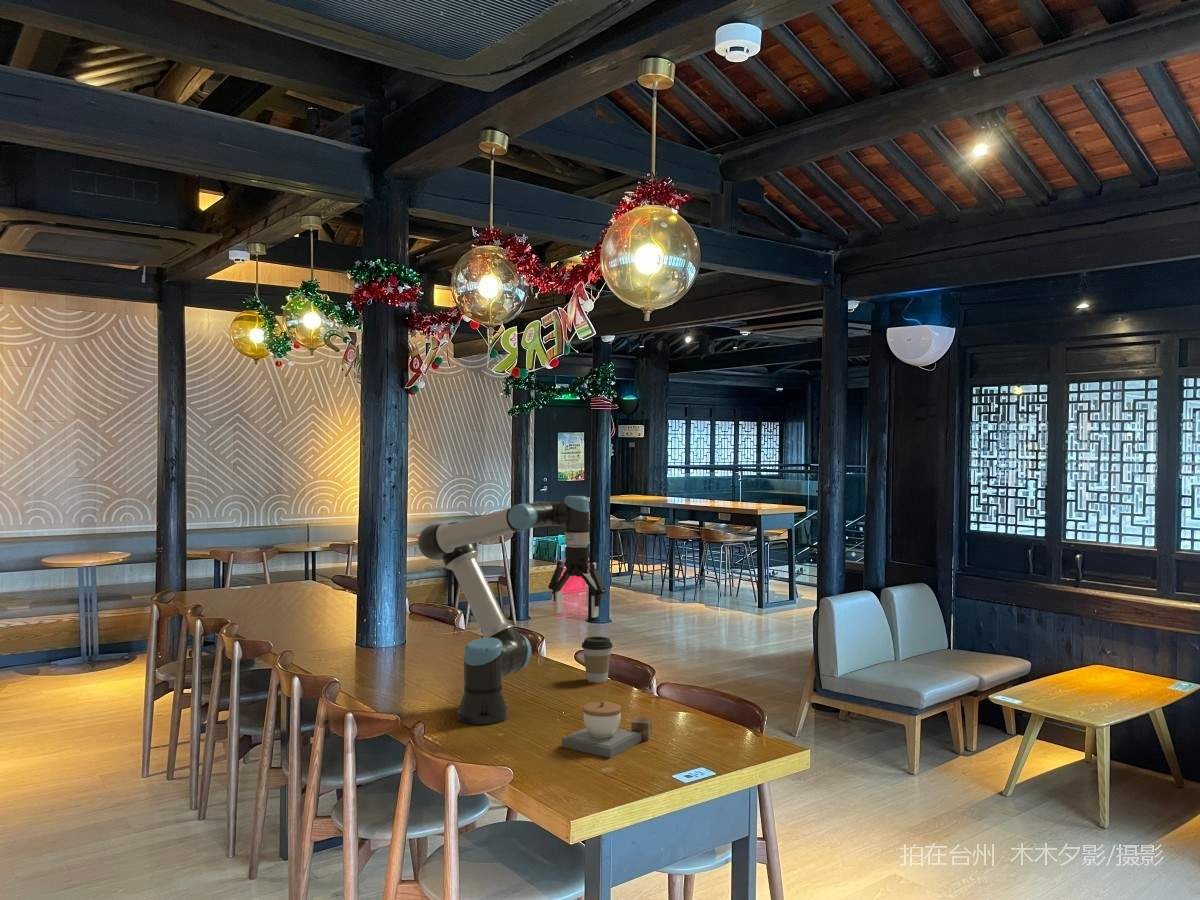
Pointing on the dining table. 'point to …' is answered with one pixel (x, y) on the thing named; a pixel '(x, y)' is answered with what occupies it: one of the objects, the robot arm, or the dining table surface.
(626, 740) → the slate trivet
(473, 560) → the robot arm
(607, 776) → the dining table surface
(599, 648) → the coffee cup
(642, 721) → the walnut block
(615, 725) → the lidded jar
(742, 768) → the dining table surface
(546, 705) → the dining table surface
